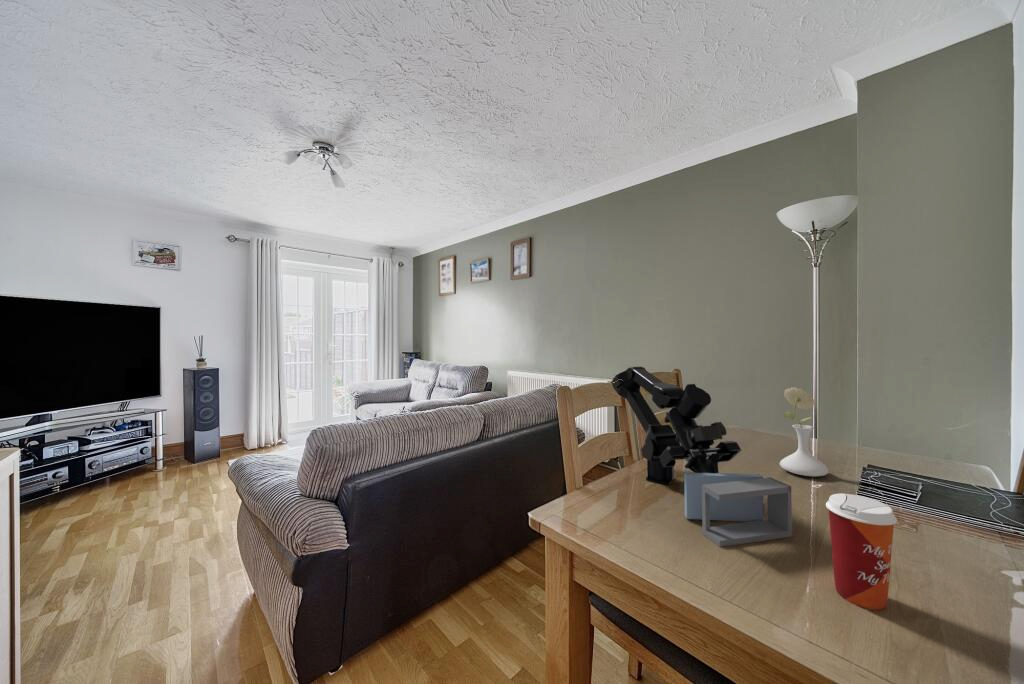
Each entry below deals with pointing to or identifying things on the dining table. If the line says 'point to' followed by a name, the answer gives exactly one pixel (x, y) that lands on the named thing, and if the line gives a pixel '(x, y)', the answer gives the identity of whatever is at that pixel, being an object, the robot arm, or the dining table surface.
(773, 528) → the cabinet
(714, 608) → the dining table surface
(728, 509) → the door
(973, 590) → the dining table surface
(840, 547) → the coffee cup
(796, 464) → the flower in vase
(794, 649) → the dining table surface
